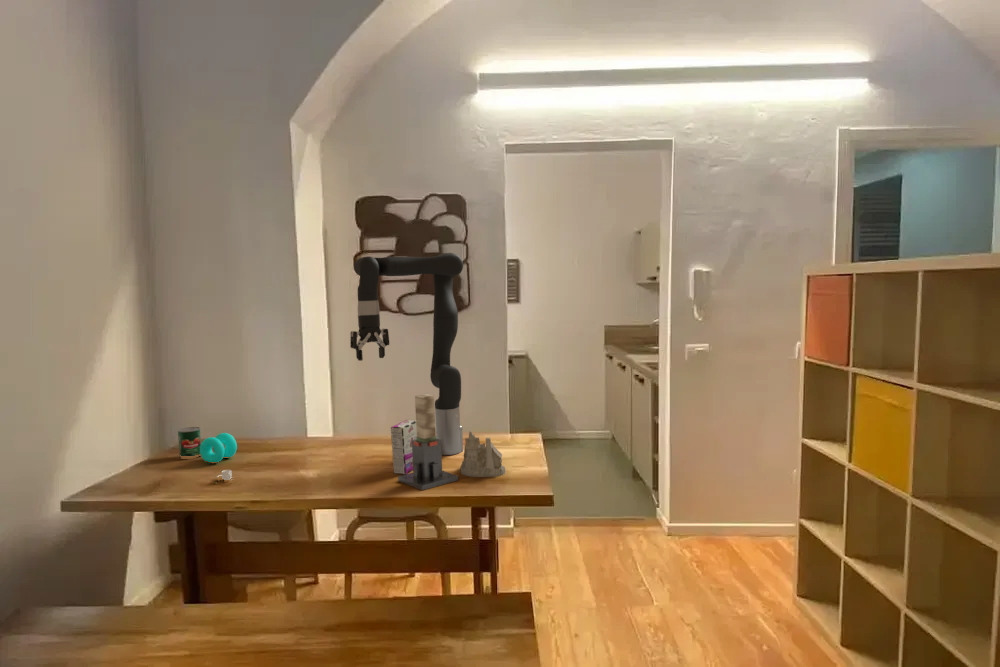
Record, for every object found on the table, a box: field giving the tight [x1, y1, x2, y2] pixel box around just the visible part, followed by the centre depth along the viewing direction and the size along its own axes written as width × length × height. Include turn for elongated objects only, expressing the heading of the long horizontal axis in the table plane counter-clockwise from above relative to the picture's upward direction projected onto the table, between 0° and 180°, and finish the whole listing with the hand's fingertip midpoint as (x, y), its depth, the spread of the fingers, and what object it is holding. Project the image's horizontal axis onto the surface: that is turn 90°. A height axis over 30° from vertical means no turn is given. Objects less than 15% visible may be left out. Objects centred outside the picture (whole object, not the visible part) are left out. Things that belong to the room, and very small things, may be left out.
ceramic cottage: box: [460, 430, 506, 478], centre depth 224 cm, size 16×16×15 cm
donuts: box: [200, 432, 238, 463], centre depth 247 cm, size 10×10×10 cm
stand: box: [397, 439, 459, 491], centre depth 213 cm, size 14×14×14 cm
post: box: [414, 393, 436, 443], centre depth 213 cm, size 5×5×20 cm
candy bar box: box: [390, 419, 417, 475], centre depth 227 cm, size 11×5×16 cm, turn 160°
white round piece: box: [216, 469, 233, 480], centre depth 221 cm, size 9×8×4 cm
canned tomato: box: [177, 426, 202, 456], centre depth 254 cm, size 8×8×11 cm
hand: (370, 359), depth 232 cm, fingers open, 8 cm apart
